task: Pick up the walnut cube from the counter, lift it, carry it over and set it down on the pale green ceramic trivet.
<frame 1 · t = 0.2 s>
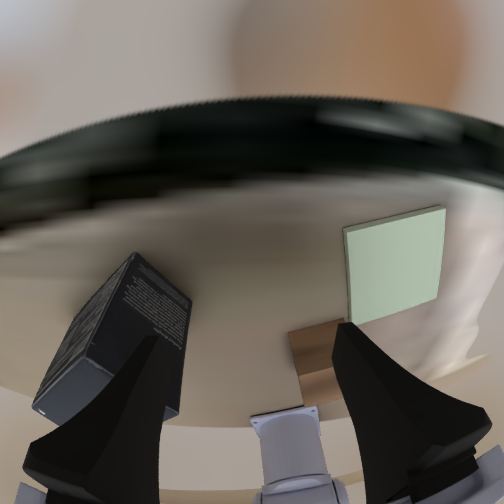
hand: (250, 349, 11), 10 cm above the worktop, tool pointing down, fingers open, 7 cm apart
walnut cube: (318, 343, 25), on the worktop
small box: (128, 311, 23), on the worktop
trivet: (395, 265, 22), on the worktop
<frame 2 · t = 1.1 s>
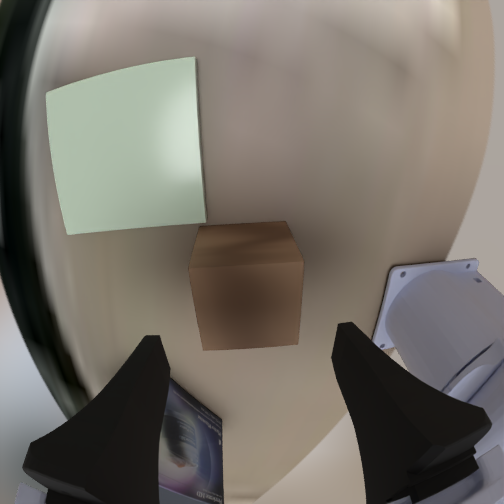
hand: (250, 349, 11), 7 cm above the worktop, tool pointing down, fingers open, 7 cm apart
walnut cube: (244, 261, 18), on the worktop
small box: (169, 401, 25), on the worktop
trivet: (122, 149, 14), on the worktop
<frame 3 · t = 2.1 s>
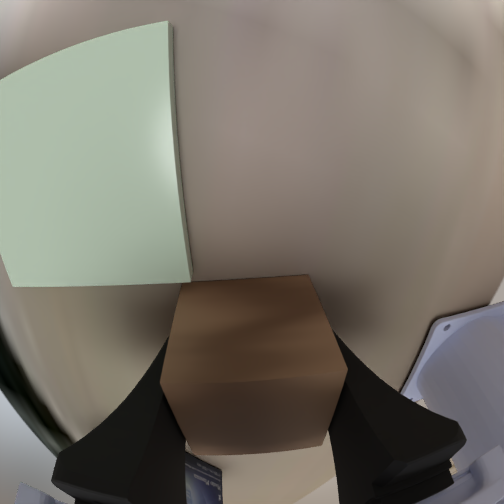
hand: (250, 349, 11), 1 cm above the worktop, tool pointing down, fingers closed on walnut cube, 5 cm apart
walnut cube: (248, 327, 13), on the worktop, touching gripper
small box: (161, 453, 19), on the worktop
trivet: (66, 170, 9), on the worktop
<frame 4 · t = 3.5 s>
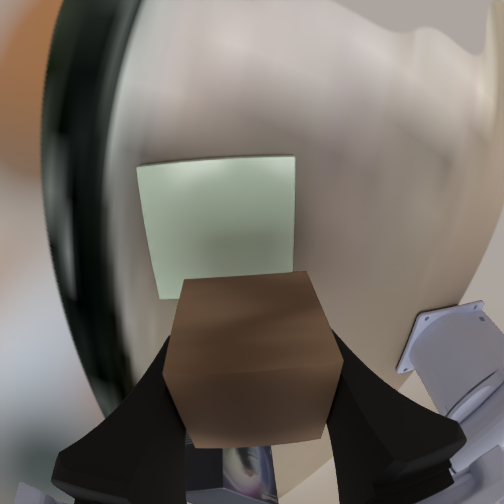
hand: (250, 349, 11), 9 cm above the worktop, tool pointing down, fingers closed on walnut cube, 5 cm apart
walnut cube: (248, 322, 13), point 7 cm above the worktop, touching gripper
small box: (226, 420, 28), on the worktop
trivet: (219, 229, 18), on the worktop
when the fingers open (3 cm above the worktop, at t = 5.2 s): walnut cube stays where it is, resting on trivet.
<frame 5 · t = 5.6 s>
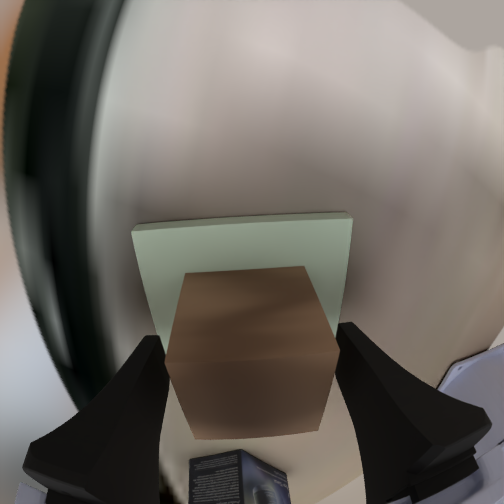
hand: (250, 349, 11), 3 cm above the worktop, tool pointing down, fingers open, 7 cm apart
walnut cube: (247, 316, 13), point 1 cm above the worktop, touching trivet
small box: (242, 467, 24), on the worktop
trivet: (246, 305, 14), on the worktop
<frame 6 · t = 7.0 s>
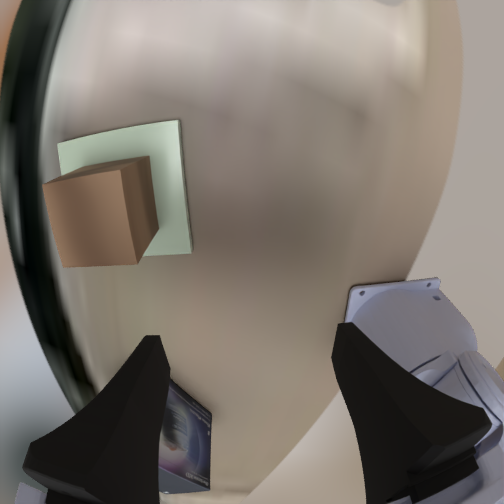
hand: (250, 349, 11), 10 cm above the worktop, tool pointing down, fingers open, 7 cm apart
walnut cube: (119, 197, 18), point 1 cm above the worktop, touching trivet
small box: (166, 396, 29), on the worktop
trivet: (123, 193, 18), on the worktop
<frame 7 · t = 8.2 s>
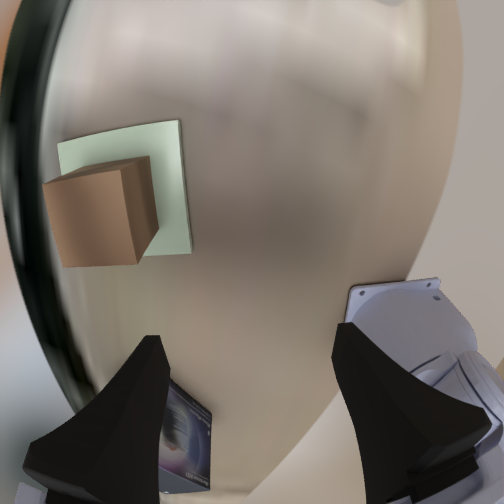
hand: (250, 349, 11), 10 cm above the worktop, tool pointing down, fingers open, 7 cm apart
walnut cube: (119, 197, 18), point 1 cm above the worktop, touching trivet
small box: (166, 396, 29), on the worktop
trivet: (123, 193, 18), on the worktop
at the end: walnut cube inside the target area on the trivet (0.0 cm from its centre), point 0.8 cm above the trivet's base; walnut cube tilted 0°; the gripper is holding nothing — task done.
